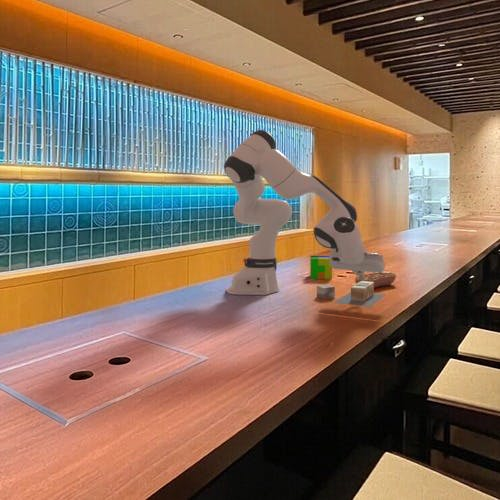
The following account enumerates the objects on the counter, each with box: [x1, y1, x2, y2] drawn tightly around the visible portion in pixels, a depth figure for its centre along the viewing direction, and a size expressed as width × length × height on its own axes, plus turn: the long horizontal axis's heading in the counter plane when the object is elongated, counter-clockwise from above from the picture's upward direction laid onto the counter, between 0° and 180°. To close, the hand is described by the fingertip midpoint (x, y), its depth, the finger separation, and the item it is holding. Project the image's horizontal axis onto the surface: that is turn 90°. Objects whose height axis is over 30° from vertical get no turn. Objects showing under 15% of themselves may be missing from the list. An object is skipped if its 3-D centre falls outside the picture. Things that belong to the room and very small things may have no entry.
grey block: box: [316, 284, 336, 300], centre depth 184 cm, size 5×5×5 cm
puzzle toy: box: [309, 255, 333, 280], centre depth 229 cm, size 10×10×10 cm
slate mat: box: [333, 291, 386, 308], centre depth 182 cm, size 22×14×1 cm, turn 150°
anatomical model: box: [354, 272, 397, 289], centre depth 205 cm, size 23×10×5 cm, turn 129°
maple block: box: [350, 281, 375, 301], centre depth 184 cm, size 5×5×14 cm
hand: (360, 274), depth 181 cm, fingers closed
